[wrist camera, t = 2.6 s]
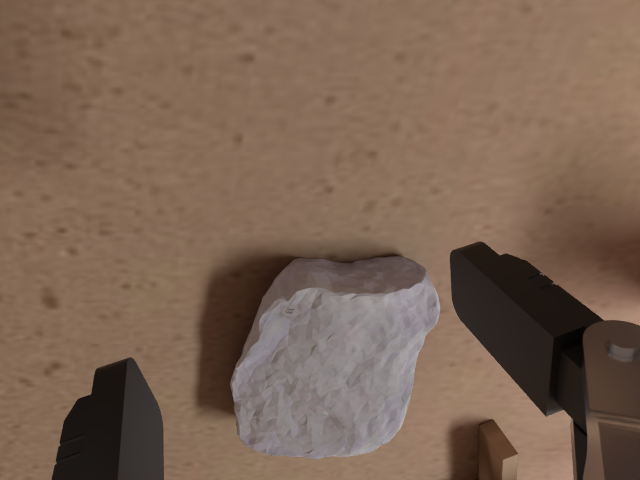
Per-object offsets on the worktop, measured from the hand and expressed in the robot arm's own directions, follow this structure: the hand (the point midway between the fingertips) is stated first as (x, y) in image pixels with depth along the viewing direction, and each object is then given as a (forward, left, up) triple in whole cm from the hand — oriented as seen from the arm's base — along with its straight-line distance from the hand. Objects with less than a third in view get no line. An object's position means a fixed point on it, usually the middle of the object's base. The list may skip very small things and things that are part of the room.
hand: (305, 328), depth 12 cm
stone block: (+11, +1, -12) cm, 16 cm away
